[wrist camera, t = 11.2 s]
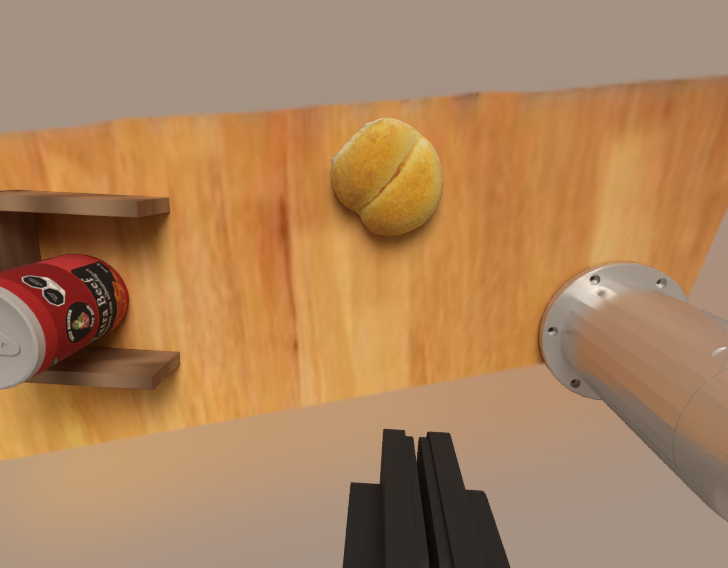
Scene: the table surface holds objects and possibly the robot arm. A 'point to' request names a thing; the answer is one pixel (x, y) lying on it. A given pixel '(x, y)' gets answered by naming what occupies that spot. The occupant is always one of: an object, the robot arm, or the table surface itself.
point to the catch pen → (20, 246)
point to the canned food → (55, 312)
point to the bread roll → (388, 177)
